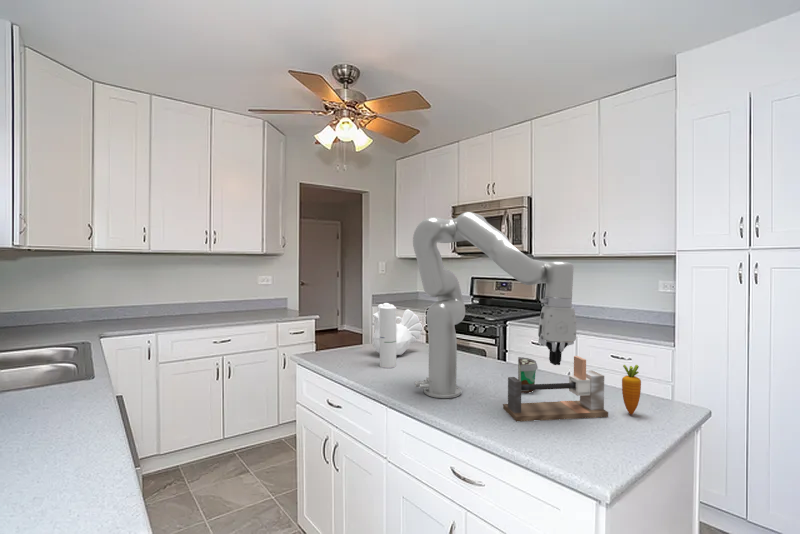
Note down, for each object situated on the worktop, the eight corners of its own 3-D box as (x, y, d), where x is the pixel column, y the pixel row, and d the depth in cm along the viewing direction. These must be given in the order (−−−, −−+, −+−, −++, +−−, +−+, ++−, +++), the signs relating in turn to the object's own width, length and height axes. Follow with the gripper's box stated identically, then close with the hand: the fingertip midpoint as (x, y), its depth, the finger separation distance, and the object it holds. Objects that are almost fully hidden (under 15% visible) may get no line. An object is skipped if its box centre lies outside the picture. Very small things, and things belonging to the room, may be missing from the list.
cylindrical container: (386, 362, 181) (386, 306, 181) (399, 365, 177) (399, 307, 176) (376, 366, 175) (376, 307, 175) (389, 369, 171) (389, 309, 171)
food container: (539, 395, 139) (540, 366, 138) (520, 394, 140) (521, 365, 140) (535, 384, 151) (535, 357, 151) (517, 383, 152) (518, 356, 152)
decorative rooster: (374, 359, 187) (375, 305, 186) (370, 352, 202) (370, 301, 201) (428, 357, 192) (428, 304, 191) (419, 349, 207) (419, 300, 207)
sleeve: (577, 395, 122) (577, 360, 121) (569, 390, 126) (569, 356, 126) (590, 395, 122) (590, 359, 122) (581, 390, 127) (581, 355, 127)
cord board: (516, 421, 117) (516, 381, 116) (503, 408, 126) (503, 371, 126) (608, 417, 120) (608, 377, 120) (588, 404, 130) (588, 368, 130)
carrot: (617, 412, 124) (618, 363, 123) (629, 410, 125) (629, 361, 125) (632, 418, 119) (633, 367, 119) (644, 416, 121) (645, 365, 121)
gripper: (540, 304, 118) (537, 367, 119) (588, 305, 120) (585, 367, 121) (528, 300, 126) (525, 360, 126) (574, 301, 127) (571, 360, 128)
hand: (554, 363), depth 124 cm, fingers closed
